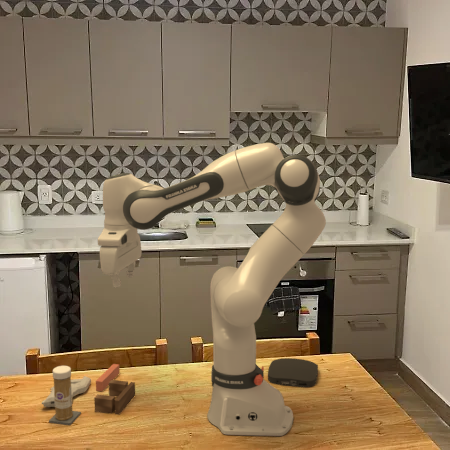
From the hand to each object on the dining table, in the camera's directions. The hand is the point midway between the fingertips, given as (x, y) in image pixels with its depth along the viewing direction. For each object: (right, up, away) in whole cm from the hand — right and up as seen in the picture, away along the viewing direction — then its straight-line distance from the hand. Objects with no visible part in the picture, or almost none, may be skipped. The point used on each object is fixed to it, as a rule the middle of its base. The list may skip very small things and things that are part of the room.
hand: (124, 281), depth 161 cm
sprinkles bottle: (-14, -35, -9) cm, 38 cm away
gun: (-17, -33, +4) cm, 37 cm away
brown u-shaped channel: (-2, -34, 0) cm, 34 cm away
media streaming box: (+49, -31, +17) cm, 60 cm away
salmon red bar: (-7, -31, +12) cm, 34 cm away
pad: (-14, -35, -8) cm, 39 cm away
